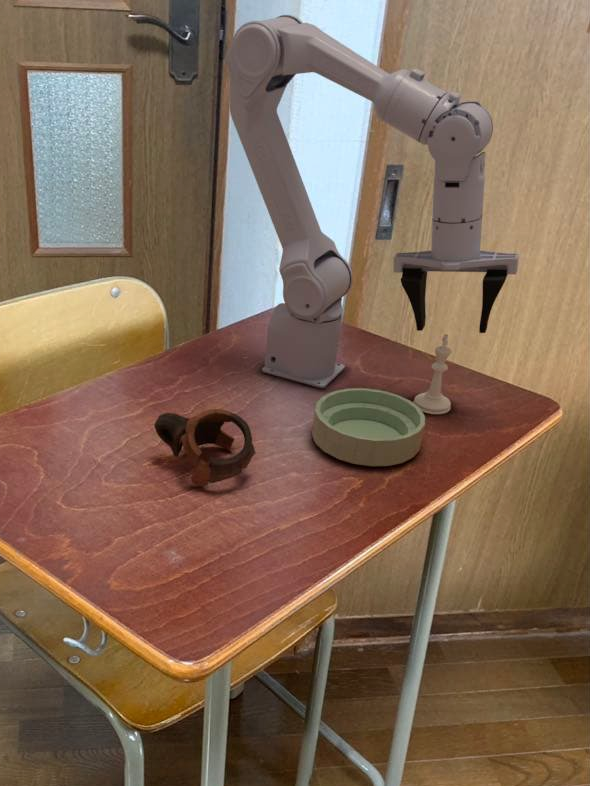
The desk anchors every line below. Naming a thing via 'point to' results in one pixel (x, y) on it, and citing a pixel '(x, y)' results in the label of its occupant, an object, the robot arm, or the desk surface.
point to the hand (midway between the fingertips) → (451, 329)
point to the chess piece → (436, 385)
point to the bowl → (368, 427)
